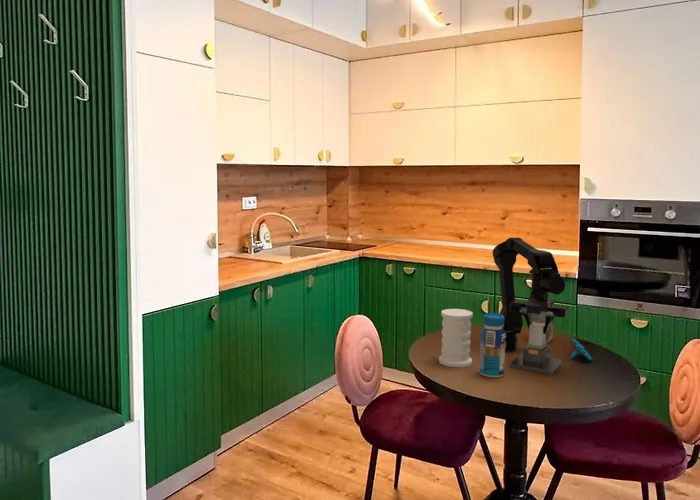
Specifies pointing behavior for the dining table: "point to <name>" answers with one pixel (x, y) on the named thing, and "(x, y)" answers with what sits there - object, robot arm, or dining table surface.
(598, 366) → the dining table surface
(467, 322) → the decorative container
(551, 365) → the stand
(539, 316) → the coffee box
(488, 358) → the beverage bottle
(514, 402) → the dining table surface
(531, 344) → the block
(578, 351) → the blue angular plastic piece
